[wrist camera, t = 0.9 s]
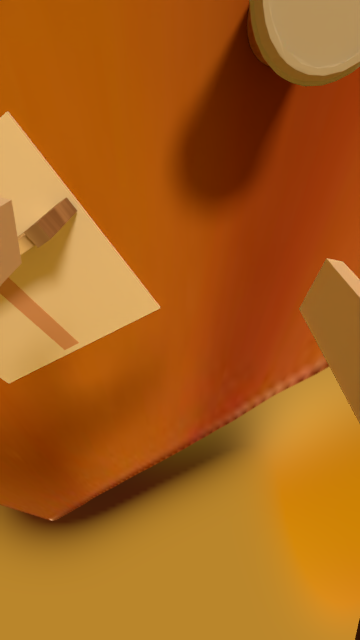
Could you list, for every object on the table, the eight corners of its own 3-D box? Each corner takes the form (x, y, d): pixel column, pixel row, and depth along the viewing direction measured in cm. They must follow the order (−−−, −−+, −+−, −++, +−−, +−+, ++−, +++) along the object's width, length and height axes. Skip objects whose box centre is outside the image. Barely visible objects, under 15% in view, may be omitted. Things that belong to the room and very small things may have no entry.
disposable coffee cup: (310, 98, 29) (372, 100, 19) (216, 76, 28) (232, 66, 18) (364, -50, 23) (491, -153, 14) (248, -85, 22) (296, -222, 13)
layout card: (-155, 266, 41) (-158, 267, 40) (8, 111, 30) (6, 111, 29) (9, 381, 55) (8, 383, 55) (160, 306, 44) (160, 308, 44)
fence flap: (-6, 269, 40) (-46, 305, 33) (-18, 258, 39) (-61, 293, 32) (77, 210, 35) (51, 238, 28) (66, 197, 34) (36, 222, 27)
